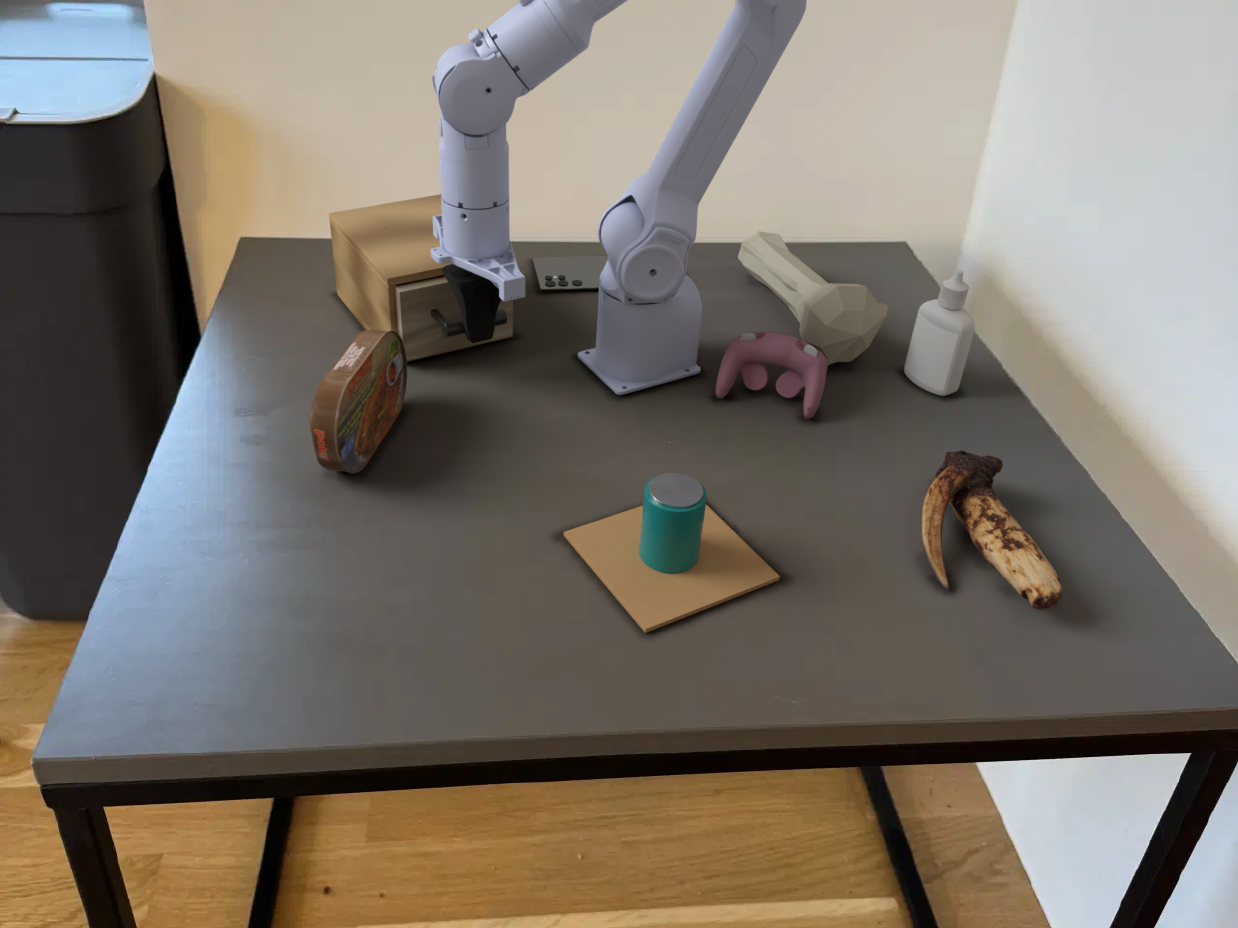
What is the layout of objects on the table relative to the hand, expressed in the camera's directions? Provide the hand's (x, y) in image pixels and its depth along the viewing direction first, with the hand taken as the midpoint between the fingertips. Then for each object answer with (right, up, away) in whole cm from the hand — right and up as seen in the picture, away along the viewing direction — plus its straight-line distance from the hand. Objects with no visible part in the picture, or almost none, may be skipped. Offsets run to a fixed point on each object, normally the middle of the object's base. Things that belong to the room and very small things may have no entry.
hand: (479, 338), depth 101 cm
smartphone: (+12, +9, +21) cm, 26 cm away
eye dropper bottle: (+43, -4, +7) cm, 44 cm away
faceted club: (+32, +4, +16) cm, 36 cm away
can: (+17, -18, -17) cm, 30 cm away
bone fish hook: (+41, -18, -13) cm, 46 cm away
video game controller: (+27, -5, +3) cm, 28 cm away
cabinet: (-7, +4, +12) cm, 14 cm away
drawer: (-5, +2, +8) cm, 10 cm away
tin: (-9, -10, -6) cm, 15 cm away
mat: (+17, -19, -16) cm, 30 cm away
